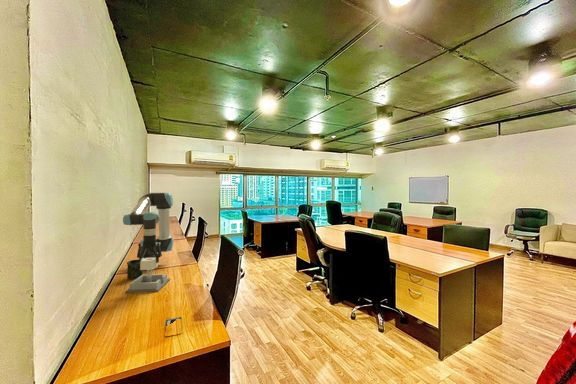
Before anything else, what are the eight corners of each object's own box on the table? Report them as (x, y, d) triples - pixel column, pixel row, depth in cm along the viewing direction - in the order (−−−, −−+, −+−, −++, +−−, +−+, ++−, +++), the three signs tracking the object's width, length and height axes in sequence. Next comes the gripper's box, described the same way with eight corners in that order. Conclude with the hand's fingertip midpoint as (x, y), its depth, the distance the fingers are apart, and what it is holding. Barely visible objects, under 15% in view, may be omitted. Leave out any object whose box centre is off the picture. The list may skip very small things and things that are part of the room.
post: (148, 283, 166) (148, 269, 166) (152, 283, 166) (152, 269, 166) (146, 285, 163) (146, 270, 163) (150, 285, 163) (150, 270, 163)
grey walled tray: (141, 281, 173) (141, 273, 173) (170, 280, 175) (170, 273, 175) (125, 292, 153) (125, 284, 153) (158, 291, 156) (158, 283, 156)
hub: (152, 269, 161) (152, 260, 161) (140, 269, 160) (140, 261, 160) (161, 263, 174) (161, 255, 174) (149, 264, 173) (149, 255, 173)
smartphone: (164, 337, 107) (165, 320, 121) (164, 339, 107) (165, 321, 121) (182, 333, 110) (181, 316, 124) (182, 335, 110) (181, 318, 124)
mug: (144, 273, 188) (144, 258, 188) (141, 280, 175) (141, 263, 175) (128, 275, 184) (128, 260, 184) (124, 282, 171) (124, 265, 170)
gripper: (130, 235, 159) (130, 269, 159) (163, 235, 162) (162, 268, 162) (136, 233, 167) (136, 266, 167) (167, 233, 169) (167, 265, 169)
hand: (149, 267), depth 164 cm, fingers closed on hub, 8 cm apart
